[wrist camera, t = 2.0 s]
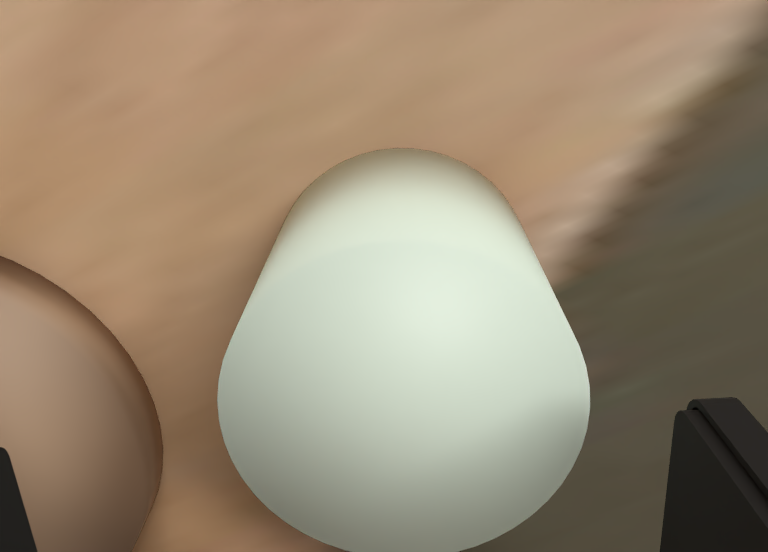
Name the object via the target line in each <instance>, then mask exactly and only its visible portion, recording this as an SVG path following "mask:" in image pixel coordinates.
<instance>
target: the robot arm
mask: <svg viewBox="0 0 768 552" xmlns="http://www.w3.org/2000/svg"><path fill="white" fill-rule="evenodd" d="M0 552H38V551H37V548H36V544H35V541H34V538H33V534H32V531H31V527H30V524H29V521H28V517H27V514H26V510H25V507H24V504H23V500H22V497H21V494H20V490H19V487H18V483H17V480H16V477H15V473H14V470H13V466H12V463H11V460H10V456H9V454H8V452H7V451H6V449H5V448H2V447H0ZM660 552H768V433H767V431H766V430H765V429H764V428H763V427H762V426H761V424H760V423H759V422H758V421H757V420H756V419H755V418H754V416H753V415H752V414H751V413H750V412H749V411H748V410H747V408H746V407H745V406H744V405H743V404H742V403H741V402H740V401H739V400H738V399H737V398H732V397H729V398H711V399H693V400H692V401H690V403H689V404H688V406H687V410H683V411H678V412H677V414H676V416H675V421H674V429H673V438H672V447H671V456H670V465H669V474H668V483H667V492H666V501H665V510H664V519H663V528H662V537H661V546H660Z"/></svg>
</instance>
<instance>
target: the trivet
mask: <svg viewBox="0 0 768 552" xmlns="http://www.w3.org/2000/svg"><path fill="white" fill-rule="evenodd" d="M0 447H2V448H5V449H6V451H7V452H8V454H9V456H10V460H11V463H12V466H13V470H14V473H15V477H16V480H17V483H18V487H19V490H20V494H21V497H22V500H23V504H24V507H25V510H26V514H27V517H28V521H29V524H30V527H31V531H32V534H33V538H34V541H35V544H36V548H37V551H38V552H131V551H132V550H133V547H134V545H135V543H136V541H137V539H138V537H139V534H140V532H141V530H142V528H143V526H144V523H145V521H146V519H147V517H148V515H149V513H150V510H151V508H152V505H153V503H154V500H155V497H156V495H157V492H158V488H159V483H160V478H161V473H162V459H163V445H162V437H161V429H160V423H159V420H158V416H157V413H156V409H155V406H154V402H153V400H152V397H151V395H150V393H149V391H148V388H147V386H146V384H145V381H144V379H143V377H142V376H141V374H140V372H139V371H138V369H137V367H136V366H135V364H134V362H133V361H132V359H131V357H130V356H129V354H128V353H127V352H126V350H125V349H124V348H123V347H122V345H121V344H120V343H119V341H118V340H117V339H116V338H115V336H114V335H113V334H112V332H111V331H110V330H109V329H108V328H107V327H106V326H105V325H104V324H103V323H102V322H101V321H100V320H99V319H98V318H97V317H96V316H95V315H94V314H93V313H92V312H91V311H90V310H88V309H87V308H86V307H85V306H83V305H82V304H81V303H80V302H79V301H77V300H76V299H75V298H74V297H72V296H71V295H70V294H69V293H67V292H66V291H64V290H63V289H61V288H60V287H58V286H57V285H55V284H54V283H52V282H51V281H49V280H47V279H46V278H44V277H43V276H41V275H40V274H38V273H36V272H34V271H32V270H30V269H28V268H26V267H24V266H22V265H20V264H18V263H16V262H14V261H12V260H9V259H7V258H4V257H1V256H0Z"/></svg>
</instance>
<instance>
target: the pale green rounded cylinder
mask: <svg viewBox="0 0 768 552" xmlns="http://www.w3.org/2000/svg"><path fill="white" fill-rule="evenodd" d="M217 403H218V414H219V423H220V427H221V431H222V435H223V439H224V443H225V445H226V448H227V450H228V453H229V455H230V457H231V460H232V462H233V464H234V465H235V467H236V469H237V470H238V472H239V474H240V476H241V477H242V479H243V480H244V482H245V483H246V484H247V485H248V487H249V488H250V489H251V491H252V492H253V493H254V494H255V496H256V497H257V498H258V499H259V500H260V501H261V502H262V503H263V504H264V505H265V506H266V507H267V508H268V509H269V510H271V511H272V512H273V513H274V514H276V515H277V516H278V517H280V518H281V519H282V520H283V521H285V522H286V523H287V524H289V525H291V526H292V527H294V528H296V529H297V530H299V531H301V532H302V533H304V534H306V535H308V536H310V537H312V538H314V539H316V540H319V541H321V542H323V543H325V544H328V545H331V546H334V547H337V548H340V549H343V550H346V551H350V552H458V551H461V550H465V549H468V548H472V547H475V546H477V545H480V544H482V543H485V542H487V541H490V540H492V539H494V538H496V537H498V536H500V535H502V534H504V533H506V532H507V531H509V530H511V529H513V528H515V527H516V526H517V525H519V524H520V523H522V522H523V521H524V520H526V519H527V518H529V517H530V516H531V515H533V514H534V513H535V512H536V511H537V510H538V509H539V508H540V507H541V506H543V505H544V504H545V503H546V502H547V501H548V500H549V499H550V497H551V496H552V495H553V494H554V493H555V492H556V490H557V489H558V488H559V487H560V486H561V484H562V483H563V481H564V480H565V478H566V477H567V475H568V474H569V472H570V470H571V469H572V467H573V465H574V463H575V461H576V459H577V457H578V454H579V452H580V450H581V448H582V444H583V441H584V437H585V434H586V431H587V426H588V419H589V412H590V386H589V380H588V375H587V369H586V365H585V362H584V359H583V356H582V353H581V350H580V347H579V344H578V342H577V340H576V338H575V336H574V334H573V332H572V330H571V328H570V326H569V323H568V321H567V319H566V317H565V315H564V313H563V311H562V309H561V307H560V305H559V303H558V301H557V299H556V296H555V294H554V292H553V290H552V288H551V286H550V284H549V282H548V280H547V278H546V276H545V274H544V271H543V269H542V267H541V265H540V263H539V261H538V259H537V257H536V255H535V253H534V251H533V249H532V247H531V244H530V242H529V240H528V238H527V236H526V234H525V232H524V230H523V228H522V226H521V224H520V222H519V220H518V218H517V216H516V214H515V212H514V210H513V208H512V206H511V205H510V204H509V202H508V201H507V199H506V198H505V197H504V195H503V194H502V193H501V192H500V191H499V190H498V189H497V188H496V187H495V185H494V184H493V183H492V182H491V181H489V180H488V179H487V178H486V177H484V176H483V175H482V174H481V173H479V172H478V171H476V170H475V169H473V168H471V167H470V166H468V165H466V164H465V163H463V162H461V161H458V160H456V159H454V158H451V157H449V156H446V155H443V154H439V153H436V152H432V151H427V150H420V149H413V148H393V149H384V150H377V151H373V152H369V153H365V154H361V155H358V156H355V157H353V158H350V159H348V160H345V161H343V162H341V163H340V164H338V165H336V166H334V167H332V168H331V169H329V170H328V171H326V172H325V173H324V174H322V175H321V176H320V177H318V178H317V179H316V180H315V181H314V182H313V183H312V184H311V185H310V186H309V187H308V188H307V189H306V190H304V192H303V193H302V194H301V196H300V197H299V198H298V199H297V201H296V202H295V203H294V205H293V207H292V208H291V210H290V212H289V214H288V215H287V217H286V219H285V221H284V224H283V226H282V228H281V230H280V232H279V235H278V237H277V239H276V241H275V243H274V246H273V248H272V250H271V252H270V254H269V257H268V259H267V261H266V263H265V265H264V268H263V270H262V272H261V274H260V277H259V279H258V281H257V283H256V285H255V288H254V290H253V292H252V294H251V296H250V299H249V301H248V303H247V305H246V307H245V310H244V312H243V314H242V316H241V318H240V321H239V323H238V325H237V327H236V329H235V332H234V334H233V336H232V338H231V341H230V343H229V346H228V348H227V351H226V354H225V356H224V359H223V363H222V367H221V372H220V376H219V383H218V398H217Z"/></svg>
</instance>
